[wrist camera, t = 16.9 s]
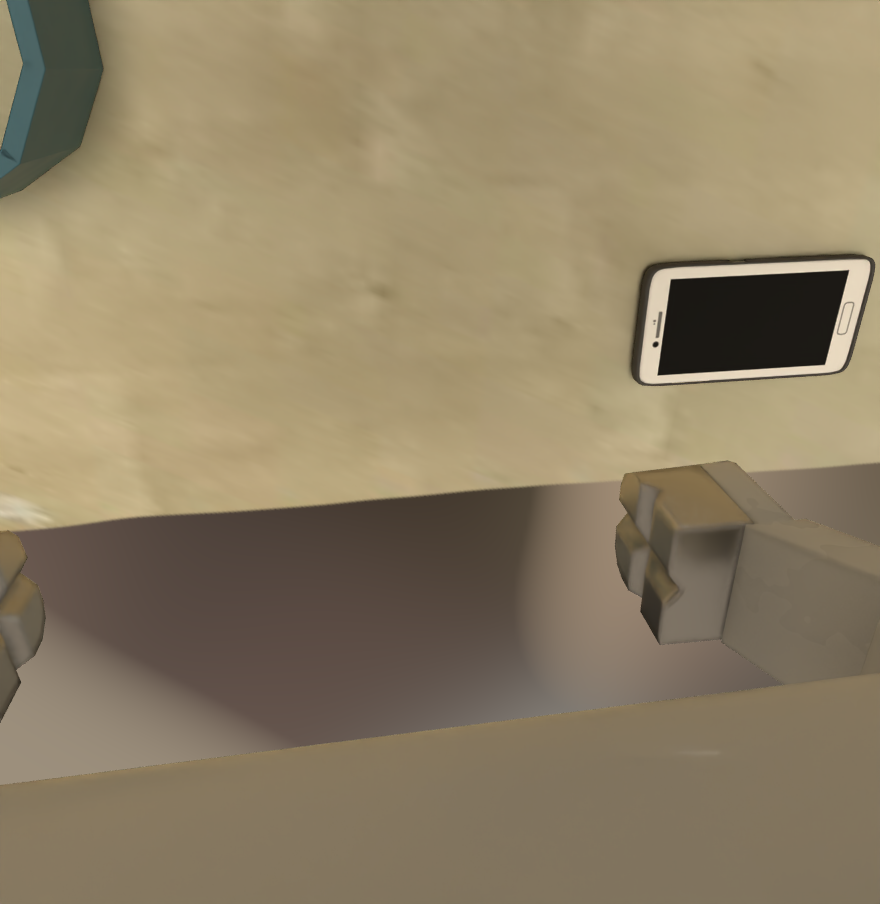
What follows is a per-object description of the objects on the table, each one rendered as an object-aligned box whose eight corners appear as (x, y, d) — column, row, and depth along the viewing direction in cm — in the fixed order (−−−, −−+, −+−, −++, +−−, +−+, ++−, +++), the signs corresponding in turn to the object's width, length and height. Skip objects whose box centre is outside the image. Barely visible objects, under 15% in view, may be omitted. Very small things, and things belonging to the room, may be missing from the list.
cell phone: (839, 369, 48) (848, 374, 47) (628, 382, 46) (633, 388, 46) (870, 252, 44) (880, 255, 44) (642, 262, 43) (648, 266, 42)
